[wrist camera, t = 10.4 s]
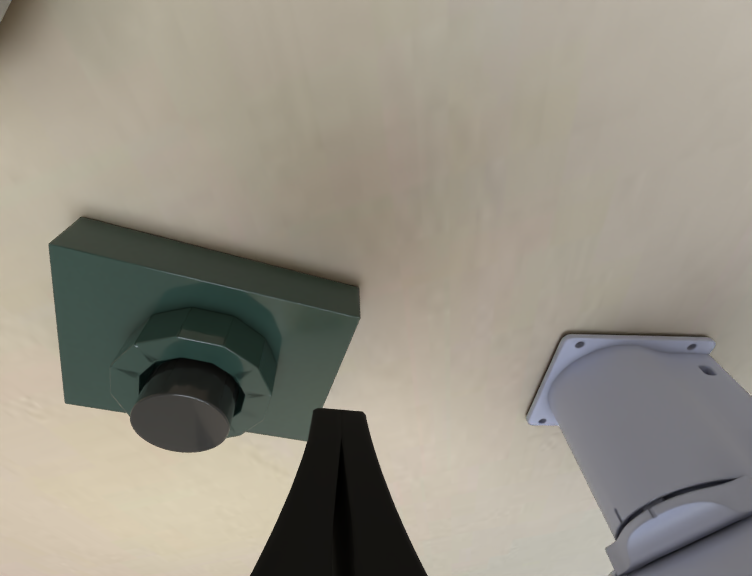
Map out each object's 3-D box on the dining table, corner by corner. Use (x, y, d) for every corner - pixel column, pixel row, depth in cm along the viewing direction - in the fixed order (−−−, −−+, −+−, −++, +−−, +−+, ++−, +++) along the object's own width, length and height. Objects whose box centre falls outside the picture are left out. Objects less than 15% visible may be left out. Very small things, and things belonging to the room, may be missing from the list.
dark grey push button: (245, 367, 19) (235, 404, 17) (232, 421, 21) (222, 458, 19) (150, 349, 18) (130, 385, 16) (146, 407, 20) (128, 445, 18)
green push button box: (359, 287, 21) (362, 347, 18) (311, 408, 27) (305, 473, 23) (81, 216, 18) (14, 271, 15) (88, 368, 24) (41, 437, 20)
